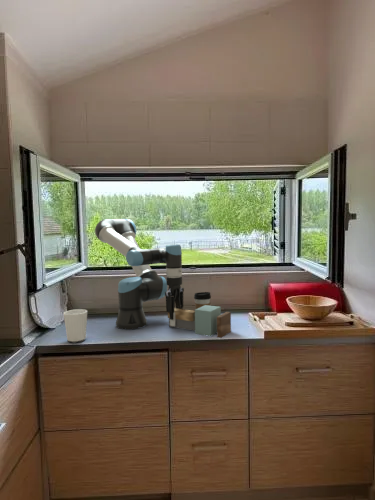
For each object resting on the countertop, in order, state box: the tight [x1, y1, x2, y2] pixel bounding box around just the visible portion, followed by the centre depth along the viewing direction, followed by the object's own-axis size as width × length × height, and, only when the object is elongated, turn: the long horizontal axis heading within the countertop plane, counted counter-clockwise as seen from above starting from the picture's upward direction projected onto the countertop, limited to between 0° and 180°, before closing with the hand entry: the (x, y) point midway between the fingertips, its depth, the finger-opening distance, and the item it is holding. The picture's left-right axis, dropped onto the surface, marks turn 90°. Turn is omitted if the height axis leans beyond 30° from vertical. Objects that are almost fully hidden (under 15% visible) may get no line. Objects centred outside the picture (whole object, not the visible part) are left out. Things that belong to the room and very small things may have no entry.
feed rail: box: [168, 318, 195, 331], centre depth 164 cm, size 15×2×4 cm, turn 58°
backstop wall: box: [216, 311, 232, 339], centre depth 152 cm, size 2×10×9 cm, turn 148°
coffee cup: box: [193, 291, 212, 309], centre depth 173 cm, size 8×8×15 cm
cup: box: [63, 308, 88, 344], centre depth 149 cm, size 10×10×13 cm
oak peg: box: [167, 307, 195, 321], centre depth 164 cm, size 14×4×4 cm, turn 58°
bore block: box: [194, 305, 222, 337], centre depth 157 cm, size 8×10×11 cm
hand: (175, 324), depth 166 cm, fingers closed on oak peg, 4 cm apart
